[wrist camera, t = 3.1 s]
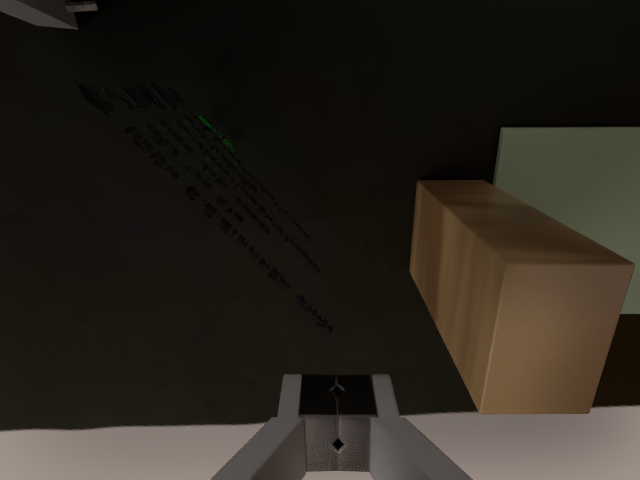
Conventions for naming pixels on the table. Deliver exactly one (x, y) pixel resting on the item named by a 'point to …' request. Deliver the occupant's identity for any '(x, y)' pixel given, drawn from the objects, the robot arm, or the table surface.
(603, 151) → the mat
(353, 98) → the table surface
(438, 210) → the block
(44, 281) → the table surface
